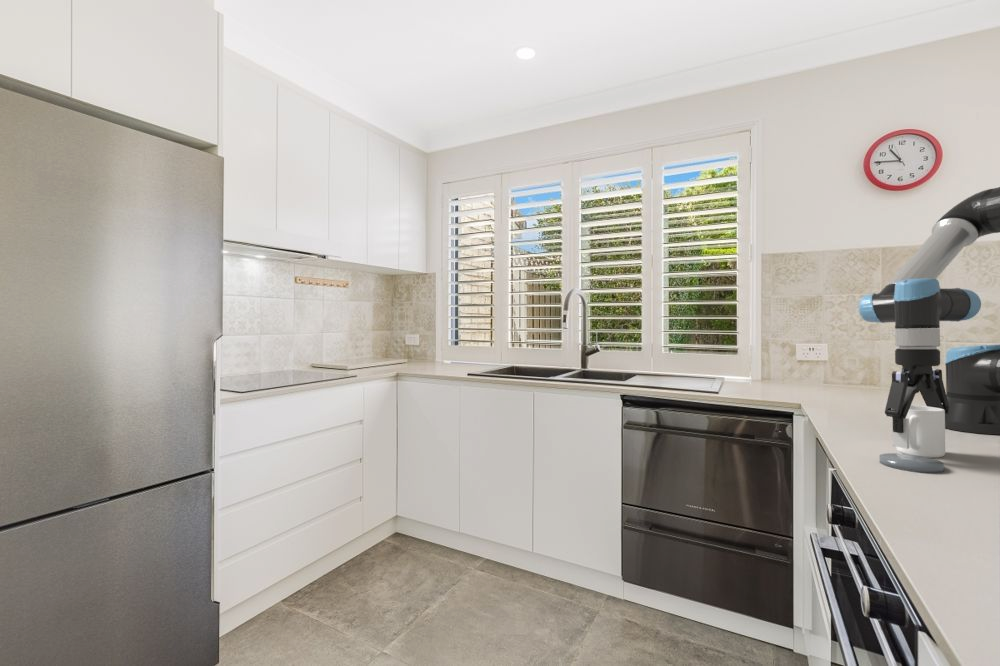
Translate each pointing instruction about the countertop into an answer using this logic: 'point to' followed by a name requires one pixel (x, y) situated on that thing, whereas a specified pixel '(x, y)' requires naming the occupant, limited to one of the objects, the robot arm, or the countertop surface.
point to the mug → (926, 432)
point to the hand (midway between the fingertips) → (918, 444)
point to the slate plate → (911, 462)
